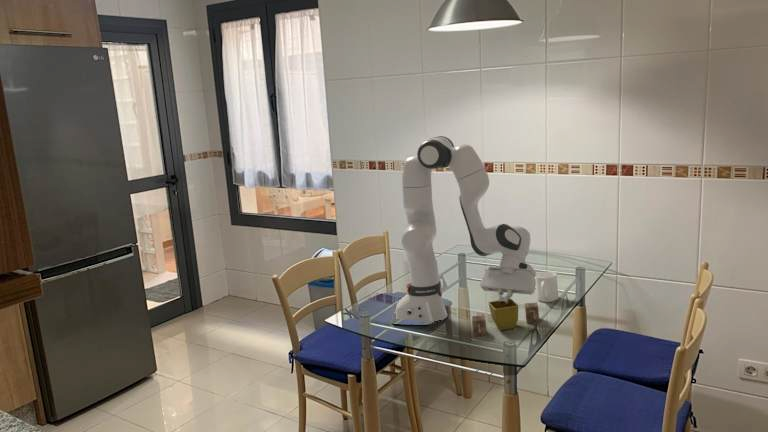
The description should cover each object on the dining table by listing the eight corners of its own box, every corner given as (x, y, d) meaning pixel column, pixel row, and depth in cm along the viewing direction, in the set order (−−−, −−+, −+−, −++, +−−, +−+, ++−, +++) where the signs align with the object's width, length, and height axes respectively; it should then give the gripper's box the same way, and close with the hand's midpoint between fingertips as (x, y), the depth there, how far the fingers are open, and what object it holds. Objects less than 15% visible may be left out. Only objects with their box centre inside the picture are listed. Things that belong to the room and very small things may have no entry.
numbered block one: (473, 337, 206) (472, 321, 205) (474, 332, 210) (472, 316, 209) (486, 336, 205) (485, 320, 204) (486, 331, 209) (485, 315, 208)
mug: (554, 306, 225) (552, 280, 223) (532, 305, 229) (530, 280, 227) (560, 296, 235) (558, 271, 233) (539, 295, 239) (537, 271, 237)
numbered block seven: (526, 323, 212) (525, 307, 211) (526, 318, 216) (524, 303, 215) (539, 322, 211) (538, 306, 210) (538, 317, 216) (537, 302, 214)
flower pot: (490, 324, 215) (488, 301, 213) (513, 321, 215) (511, 298, 214) (497, 333, 206) (494, 309, 205) (521, 329, 207) (518, 305, 205)
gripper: (482, 262, 219) (473, 296, 213) (534, 265, 206) (526, 301, 200) (489, 270, 223) (480, 303, 217) (540, 273, 210) (532, 308, 205)
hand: (502, 302), depth 209 cm, fingers closed
